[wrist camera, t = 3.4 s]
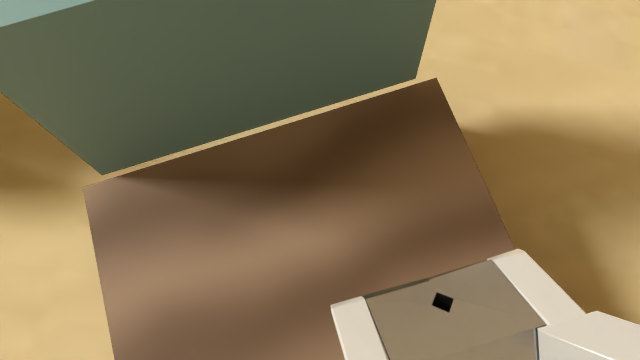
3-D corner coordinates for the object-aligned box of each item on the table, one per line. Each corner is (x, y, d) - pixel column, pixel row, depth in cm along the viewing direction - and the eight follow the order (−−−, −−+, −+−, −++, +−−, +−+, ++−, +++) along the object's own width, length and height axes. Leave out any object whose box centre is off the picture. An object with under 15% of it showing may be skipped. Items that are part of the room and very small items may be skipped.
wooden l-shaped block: (561, 443, 26) (765, 512, 13) (198, 578, 24) (55, 791, 12) (421, 121, 31) (474, -37, 19) (122, 215, 30) (-25, 110, 18)
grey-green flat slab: (415, 78, 27) (464, -105, 16) (102, 175, 26) (-59, 43, 15) (396, 35, 28) (430, -165, 17) (92, 126, 26) (-67, -29, 16)
